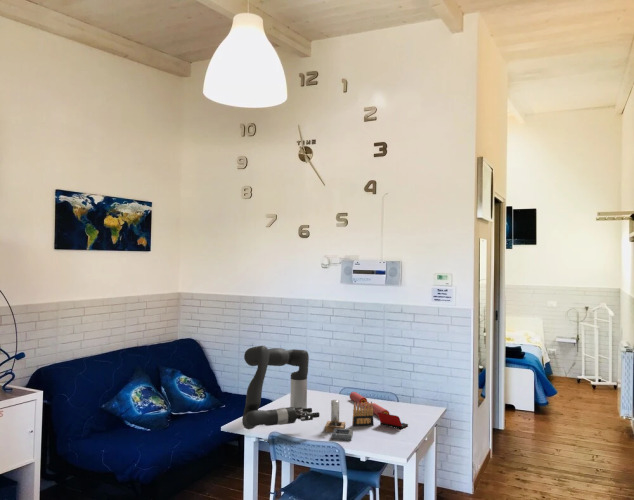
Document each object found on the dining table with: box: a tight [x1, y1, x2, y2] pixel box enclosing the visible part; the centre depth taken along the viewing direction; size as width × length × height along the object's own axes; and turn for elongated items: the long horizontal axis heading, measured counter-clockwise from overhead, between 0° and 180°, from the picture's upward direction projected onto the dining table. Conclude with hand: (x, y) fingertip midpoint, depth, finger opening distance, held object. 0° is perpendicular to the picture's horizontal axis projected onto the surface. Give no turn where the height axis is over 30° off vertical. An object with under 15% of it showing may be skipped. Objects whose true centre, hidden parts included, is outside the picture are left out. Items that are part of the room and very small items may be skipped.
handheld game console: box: [377, 412, 409, 430], centre depth 274 cm, size 12×11×7 cm
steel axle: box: [330, 399, 340, 426], centre depth 268 cm, size 4×4×14 cm
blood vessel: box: [349, 391, 390, 416], centre depth 306 cm, size 42×5×5 cm, turn 20°
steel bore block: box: [331, 428, 354, 441], centre depth 256 cm, size 9×9×2 cm
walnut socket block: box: [324, 420, 346, 433], centre depth 268 cm, size 9×9×2 cm
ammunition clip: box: [352, 401, 375, 427], centre depth 274 cm, size 11×2×12 cm, turn 101°
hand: (315, 412), depth 263 cm, fingers open, 8 cm apart
